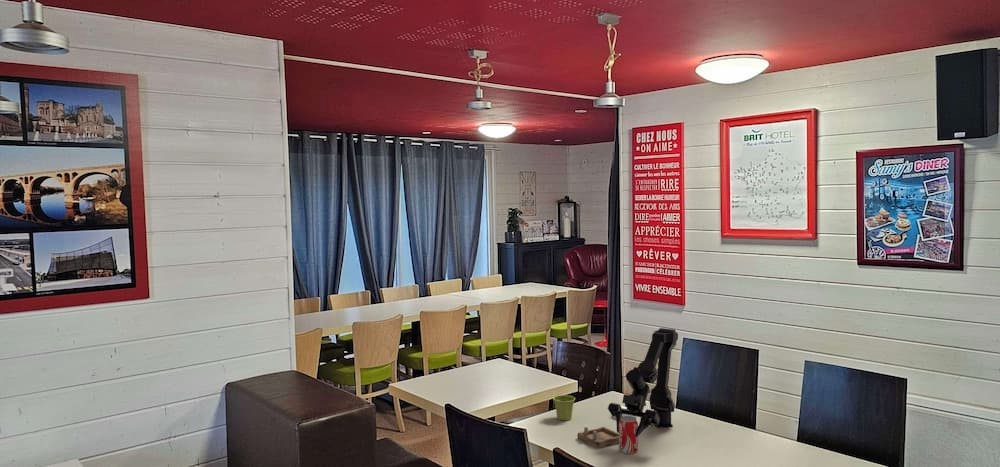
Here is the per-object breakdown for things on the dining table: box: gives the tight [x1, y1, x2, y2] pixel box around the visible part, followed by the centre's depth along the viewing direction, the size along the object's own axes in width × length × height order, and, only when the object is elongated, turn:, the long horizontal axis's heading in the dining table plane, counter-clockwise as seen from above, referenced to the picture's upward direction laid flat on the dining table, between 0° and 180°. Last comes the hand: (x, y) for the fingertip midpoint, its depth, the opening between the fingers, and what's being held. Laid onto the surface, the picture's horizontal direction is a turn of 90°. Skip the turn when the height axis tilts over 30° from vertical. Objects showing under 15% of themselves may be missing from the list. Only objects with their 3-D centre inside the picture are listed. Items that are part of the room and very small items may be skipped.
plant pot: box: [552, 394, 576, 421], centre depth 270 cm, size 9×9×9 cm
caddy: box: [577, 426, 619, 449], centre depth 244 cm, size 13×12×5 cm
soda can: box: [618, 416, 639, 454], centre depth 233 cm, size 7×7×12 cm
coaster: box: [612, 405, 638, 419], centre depth 271 cm, size 10×10×4 cm
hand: (626, 434), depth 232 cm, fingers closed on soda can, 7 cm apart
